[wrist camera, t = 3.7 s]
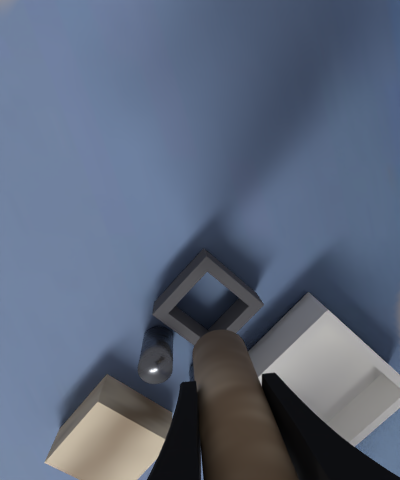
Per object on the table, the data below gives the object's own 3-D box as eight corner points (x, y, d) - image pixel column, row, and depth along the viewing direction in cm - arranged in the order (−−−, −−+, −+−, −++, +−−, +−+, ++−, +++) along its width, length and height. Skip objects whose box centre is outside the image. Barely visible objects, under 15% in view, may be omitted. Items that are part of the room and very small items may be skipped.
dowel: (245, 327, 15) (322, 496, 7) (246, 373, 16) (315, 573, 8) (191, 332, 15) (207, 512, 7) (193, 379, 15) (212, 589, 8)
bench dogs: (222, 369, 24) (230, 402, 20) (204, 387, 24) (208, 423, 21) (156, 321, 22) (152, 348, 19) (137, 341, 22) (130, 372, 19)
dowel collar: (256, 293, 22) (264, 304, 20) (208, 342, 23) (211, 358, 21) (203, 248, 21) (206, 256, 19) (154, 301, 22) (152, 314, 20)
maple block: (172, 411, 25) (171, 443, 22) (125, 461, 26) (119, 498, 23) (107, 372, 23) (97, 401, 20) (60, 427, 24) (44, 462, 21)
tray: (390, 366, 25) (418, 391, 22) (300, 446, 27) (315, 480, 24) (308, 291, 23) (328, 309, 20) (213, 385, 24) (218, 414, 21)
